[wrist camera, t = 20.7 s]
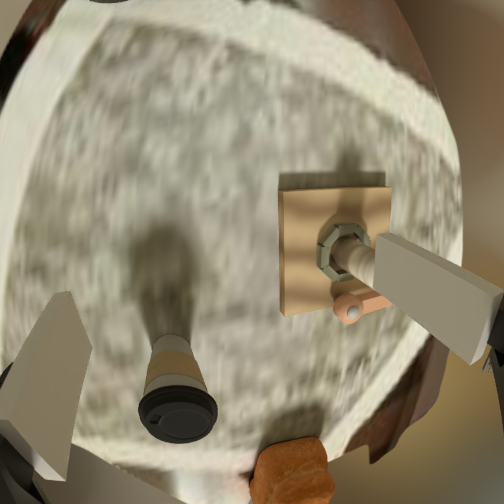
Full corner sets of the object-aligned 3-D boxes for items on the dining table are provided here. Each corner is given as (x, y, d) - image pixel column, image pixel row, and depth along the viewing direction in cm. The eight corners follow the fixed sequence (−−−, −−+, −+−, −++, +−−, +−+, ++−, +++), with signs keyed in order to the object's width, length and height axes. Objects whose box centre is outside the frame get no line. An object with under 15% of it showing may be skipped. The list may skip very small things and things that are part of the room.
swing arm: (332, 319, 44) (341, 328, 41) (333, 296, 42) (343, 304, 40) (407, 296, 47) (417, 303, 45) (410, 275, 46) (420, 281, 43)
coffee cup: (136, 326, 40) (129, 399, 26) (201, 321, 42) (218, 392, 29) (146, 375, 43) (147, 449, 29) (204, 370, 45) (222, 442, 32)
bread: (245, 492, 63) (262, 540, 47) (258, 443, 55) (284, 505, 40) (297, 481, 67) (319, 525, 51) (322, 431, 60) (355, 484, 44)
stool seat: (277, 190, 39) (287, 193, 36) (383, 185, 44) (398, 189, 40) (279, 310, 45) (288, 322, 42) (375, 289, 49) (387, 298, 46)
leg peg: (329, 267, 43) (369, 295, 34) (330, 237, 41) (372, 260, 32) (354, 262, 44) (396, 288, 35) (356, 234, 42) (400, 255, 33)
